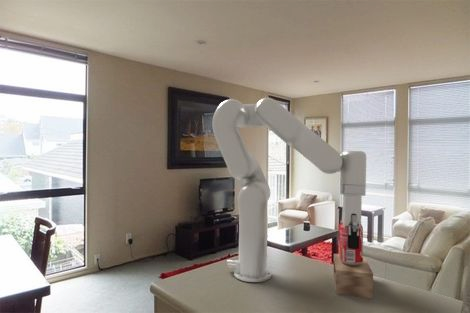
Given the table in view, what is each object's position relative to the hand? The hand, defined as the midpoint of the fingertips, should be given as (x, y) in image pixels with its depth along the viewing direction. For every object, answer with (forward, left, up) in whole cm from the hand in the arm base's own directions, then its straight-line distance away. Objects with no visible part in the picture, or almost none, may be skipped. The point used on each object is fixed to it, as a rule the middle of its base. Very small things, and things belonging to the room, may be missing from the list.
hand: (351, 244), depth 98 cm
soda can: (0, 0, -6) cm, 6 cm away
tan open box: (0, 0, -13) cm, 13 cm away
